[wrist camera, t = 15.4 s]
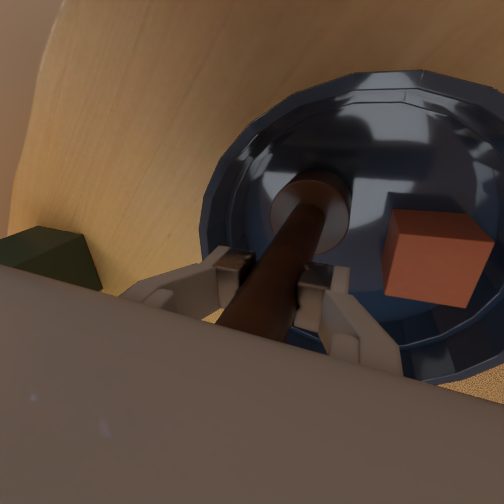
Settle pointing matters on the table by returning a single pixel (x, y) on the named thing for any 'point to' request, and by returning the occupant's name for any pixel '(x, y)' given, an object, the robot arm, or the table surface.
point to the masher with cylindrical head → (290, 253)
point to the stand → (51, 256)
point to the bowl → (381, 198)
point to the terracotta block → (433, 256)
